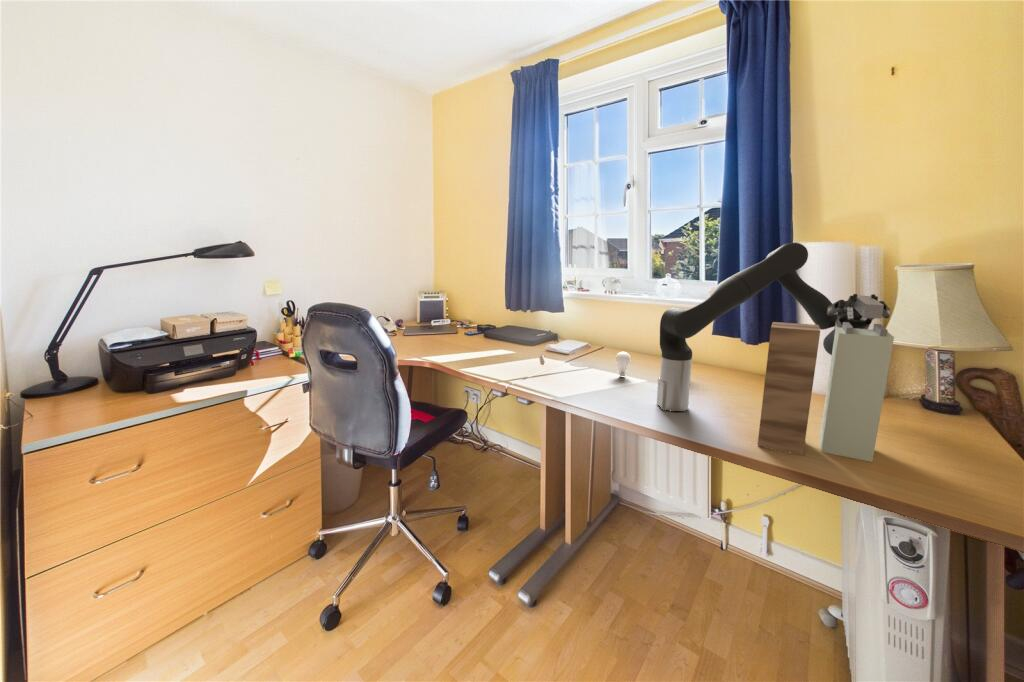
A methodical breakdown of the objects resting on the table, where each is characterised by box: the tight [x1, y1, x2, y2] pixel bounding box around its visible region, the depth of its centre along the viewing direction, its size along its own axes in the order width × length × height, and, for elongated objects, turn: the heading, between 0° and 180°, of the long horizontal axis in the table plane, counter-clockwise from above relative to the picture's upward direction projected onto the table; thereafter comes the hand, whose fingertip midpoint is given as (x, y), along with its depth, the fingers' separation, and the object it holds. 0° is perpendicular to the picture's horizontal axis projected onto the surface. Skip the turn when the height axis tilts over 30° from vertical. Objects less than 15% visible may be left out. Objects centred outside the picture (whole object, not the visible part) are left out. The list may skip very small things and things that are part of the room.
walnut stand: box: [757, 321, 821, 456], centre depth 109 cm, size 10×10×32 cm
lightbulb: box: [614, 351, 632, 377], centre depth 173 cm, size 6×6×11 cm
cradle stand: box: [819, 322, 895, 463], centre depth 105 cm, size 10×10×32 cm
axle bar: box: [854, 294, 884, 320], centre depth 101 cm, size 22×3×3 cm, turn 146°
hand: (864, 297), depth 106 cm, fingers closed on axle bar, 3 cm apart
